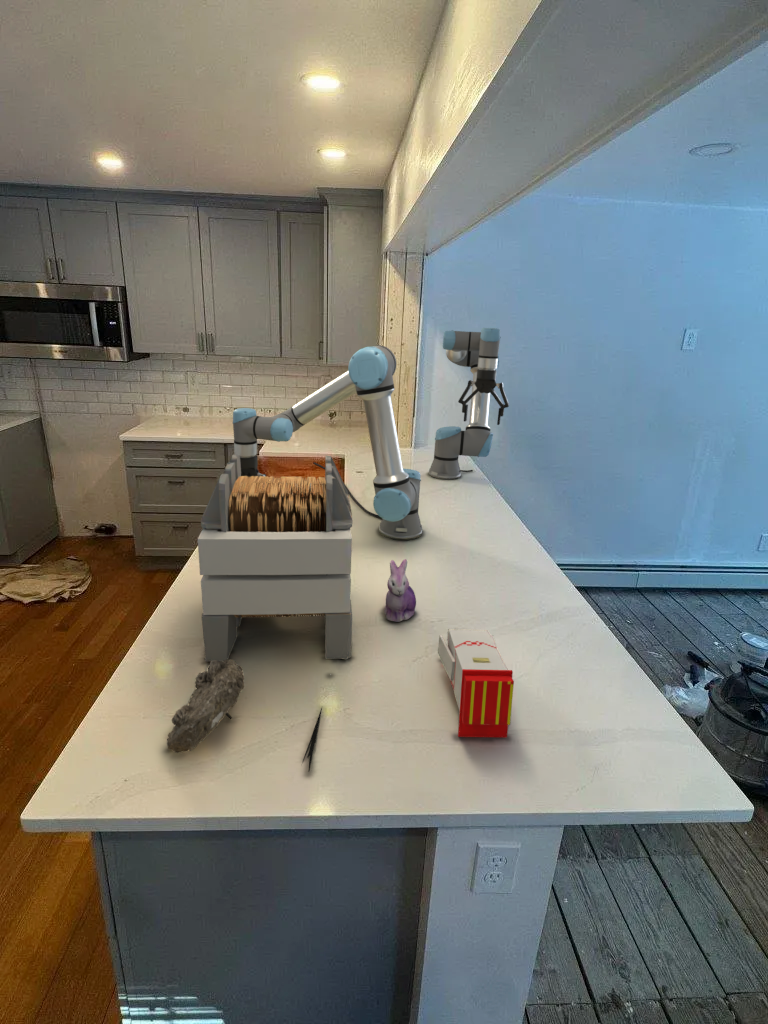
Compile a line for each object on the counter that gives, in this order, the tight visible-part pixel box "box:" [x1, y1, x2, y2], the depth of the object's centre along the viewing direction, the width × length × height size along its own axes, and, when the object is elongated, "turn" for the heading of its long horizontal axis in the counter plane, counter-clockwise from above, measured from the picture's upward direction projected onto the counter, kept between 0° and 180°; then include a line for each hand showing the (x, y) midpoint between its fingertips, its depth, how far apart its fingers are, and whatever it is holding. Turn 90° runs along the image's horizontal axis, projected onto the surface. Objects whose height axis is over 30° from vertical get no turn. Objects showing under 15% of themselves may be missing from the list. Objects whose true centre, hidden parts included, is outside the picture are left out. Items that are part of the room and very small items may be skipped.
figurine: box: [384, 558, 417, 623], centre depth 145 cm, size 9×10×15 cm
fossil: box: [166, 658, 245, 754], centre depth 106 cm, size 22×10×15 cm
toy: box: [437, 628, 515, 738], centre depth 117 cm, size 12×13×30 cm
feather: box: [301, 673, 332, 771], centre depth 108 cm, size 2×28×2 cm
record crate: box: [197, 453, 354, 663], centre depth 134 cm, size 34×33×41 cm
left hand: (248, 519), depth 198 cm, fingers open, 6 cm apart
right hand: (481, 422), depth 231 cm, fingers open, 13 cm apart
